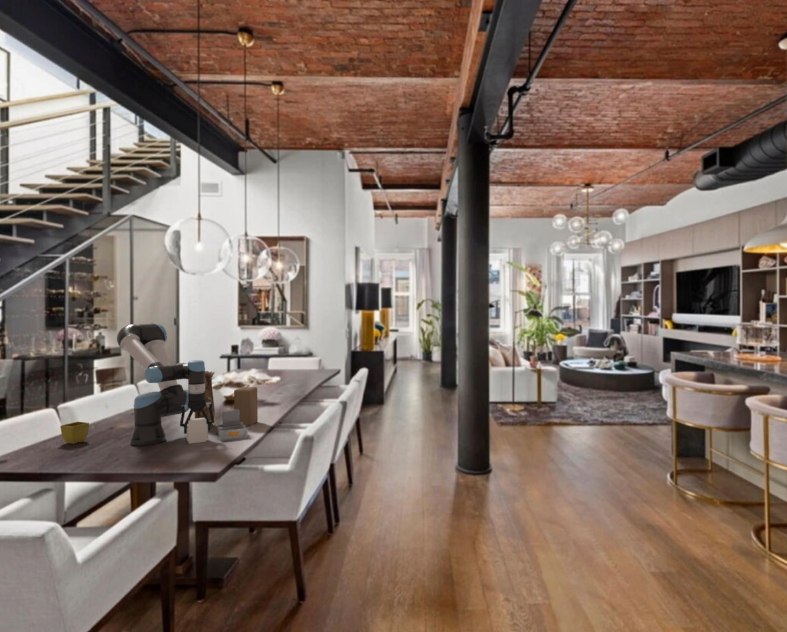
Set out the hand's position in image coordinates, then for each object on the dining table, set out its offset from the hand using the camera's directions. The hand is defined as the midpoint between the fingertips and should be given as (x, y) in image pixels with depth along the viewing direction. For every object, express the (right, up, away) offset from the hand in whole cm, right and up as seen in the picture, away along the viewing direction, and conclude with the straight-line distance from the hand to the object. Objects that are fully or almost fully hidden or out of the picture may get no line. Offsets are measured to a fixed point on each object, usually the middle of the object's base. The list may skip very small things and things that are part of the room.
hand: (197, 438), depth 223 cm
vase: (-8, -1, +29) cm, 30 cm away
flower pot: (-60, -2, 0) cm, 60 cm away
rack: (+13, -1, +10) cm, 17 cm away
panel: (0, -1, 0) cm, 1 cm away
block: (+13, -1, +34) cm, 36 cm away
